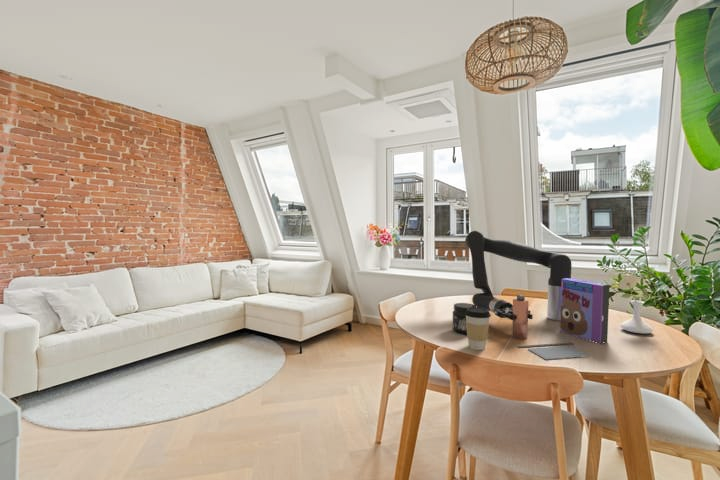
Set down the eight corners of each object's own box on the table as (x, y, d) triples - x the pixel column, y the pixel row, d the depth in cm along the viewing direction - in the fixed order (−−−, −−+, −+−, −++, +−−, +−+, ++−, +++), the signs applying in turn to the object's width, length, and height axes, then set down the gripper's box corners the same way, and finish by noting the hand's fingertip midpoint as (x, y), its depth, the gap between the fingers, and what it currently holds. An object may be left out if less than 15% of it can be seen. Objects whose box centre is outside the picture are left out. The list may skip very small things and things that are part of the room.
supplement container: (457, 326, 164) (457, 301, 163) (479, 330, 158) (480, 304, 157) (448, 332, 156) (449, 306, 155) (472, 337, 150) (472, 309, 149)
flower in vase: (647, 329, 159) (650, 275, 157) (656, 337, 148) (659, 279, 147) (613, 326, 164) (615, 273, 163) (619, 333, 154) (621, 277, 152)
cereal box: (560, 331, 157) (561, 278, 155) (567, 330, 159) (568, 277, 157) (599, 343, 141) (601, 285, 139) (607, 342, 143) (609, 284, 141)
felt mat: (569, 346, 137) (569, 346, 137) (589, 356, 128) (589, 355, 128) (527, 349, 134) (527, 348, 134) (545, 360, 125) (545, 359, 125)
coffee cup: (489, 344, 140) (490, 307, 140) (490, 353, 131) (491, 314, 130) (464, 341, 144) (465, 305, 143) (463, 350, 134) (463, 311, 134)
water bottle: (521, 334, 153) (522, 293, 152) (530, 338, 147) (531, 296, 146) (509, 335, 152) (510, 294, 151) (517, 339, 146) (518, 297, 145)
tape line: (571, 343, 142) (571, 342, 142) (573, 344, 140) (573, 343, 140) (517, 346, 138) (517, 346, 138) (519, 348, 136) (519, 347, 136)
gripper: (487, 300, 162) (507, 309, 146) (515, 299, 164) (538, 307, 148) (486, 316, 162) (506, 327, 146) (514, 315, 164) (537, 325, 148)
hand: (522, 317), depth 147 cm, fingers open, 8 cm apart
